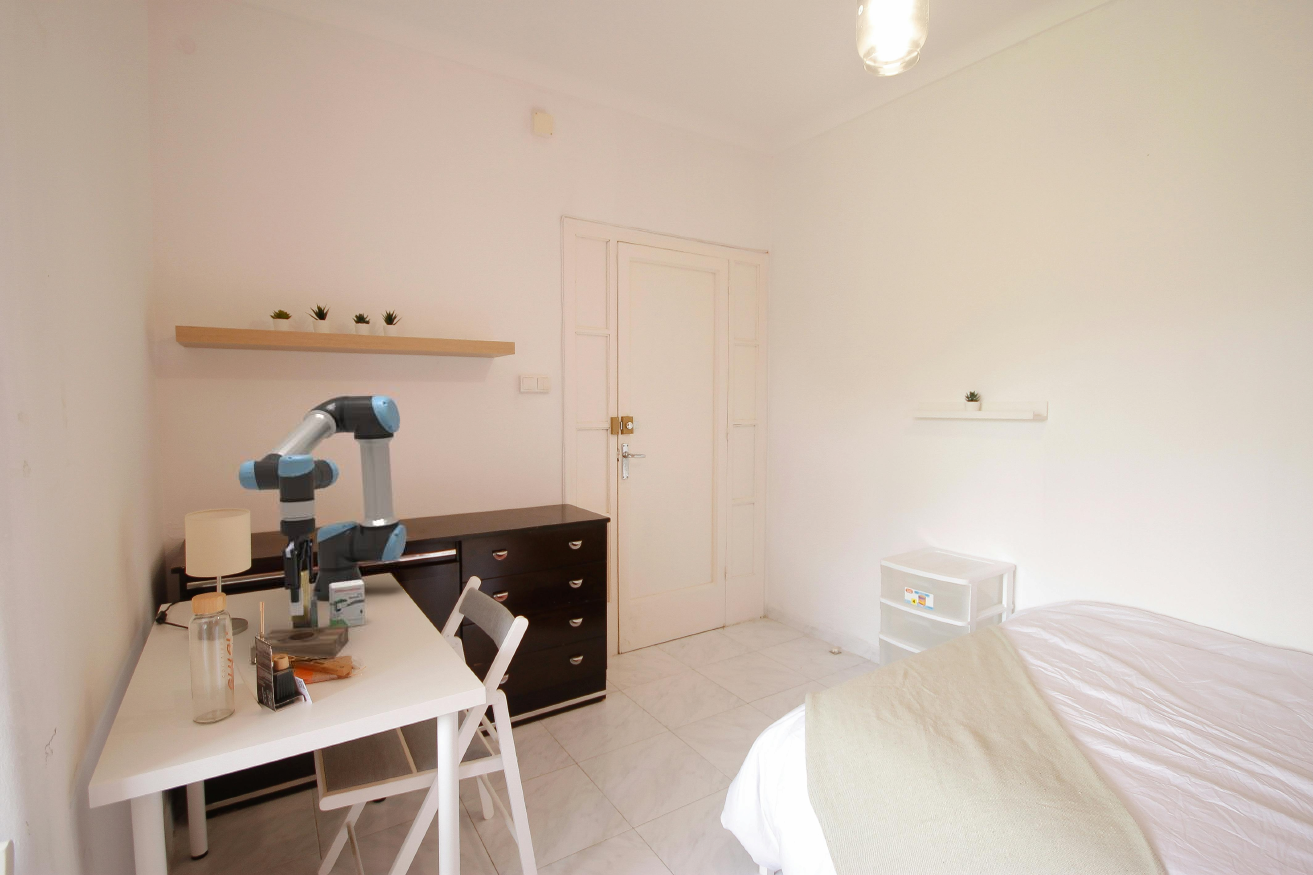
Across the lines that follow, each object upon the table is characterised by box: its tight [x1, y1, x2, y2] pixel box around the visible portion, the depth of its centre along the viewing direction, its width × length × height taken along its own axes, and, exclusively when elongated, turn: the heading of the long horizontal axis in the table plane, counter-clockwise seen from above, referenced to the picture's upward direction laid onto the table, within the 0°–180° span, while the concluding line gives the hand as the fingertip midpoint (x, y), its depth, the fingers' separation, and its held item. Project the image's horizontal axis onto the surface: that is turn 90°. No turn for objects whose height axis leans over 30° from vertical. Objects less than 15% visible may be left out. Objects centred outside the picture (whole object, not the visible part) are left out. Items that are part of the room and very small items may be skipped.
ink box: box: [329, 580, 366, 628], centre depth 174 cm, size 9×5×12 cm, turn 124°
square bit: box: [292, 596, 319, 629], centre depth 165 cm, size 4×4×10 cm
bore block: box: [250, 625, 350, 665], centre depth 154 cm, size 12×18×4 cm, turn 100°
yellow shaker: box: [291, 569, 310, 623], centre depth 154 cm, size 4×4×12 cm
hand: (300, 611), depth 154 cm, fingers closed on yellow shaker, 4 cm apart
